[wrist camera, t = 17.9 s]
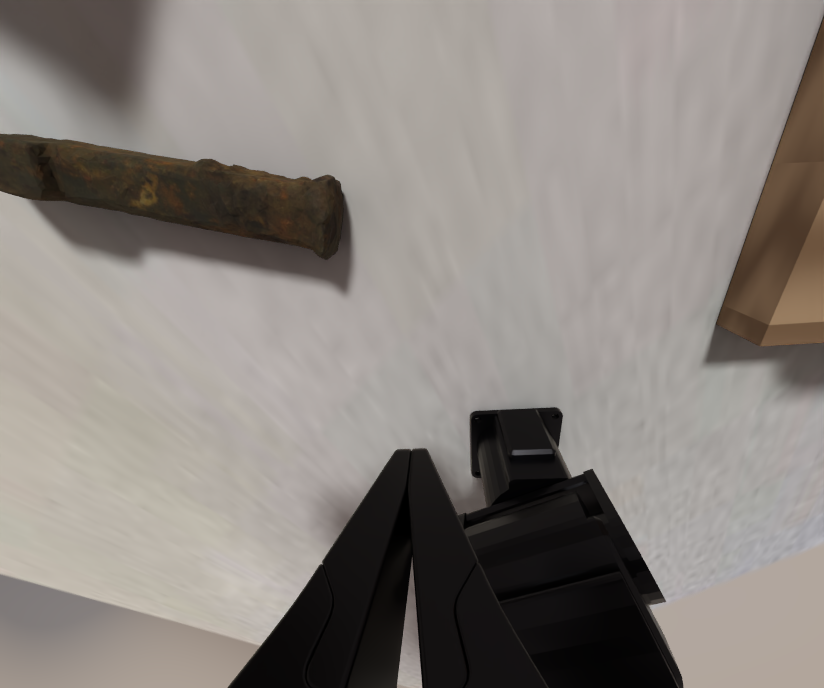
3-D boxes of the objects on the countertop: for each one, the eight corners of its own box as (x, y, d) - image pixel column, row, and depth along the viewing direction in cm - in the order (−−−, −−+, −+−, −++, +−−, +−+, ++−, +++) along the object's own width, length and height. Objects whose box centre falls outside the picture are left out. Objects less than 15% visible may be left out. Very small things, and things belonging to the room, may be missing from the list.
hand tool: (353, 178, 18) (329, 178, 14) (344, 251, 20) (321, 271, 15) (-9, 92, 17) (-153, 63, 13) (17, 177, 19) (-101, 176, 14)
